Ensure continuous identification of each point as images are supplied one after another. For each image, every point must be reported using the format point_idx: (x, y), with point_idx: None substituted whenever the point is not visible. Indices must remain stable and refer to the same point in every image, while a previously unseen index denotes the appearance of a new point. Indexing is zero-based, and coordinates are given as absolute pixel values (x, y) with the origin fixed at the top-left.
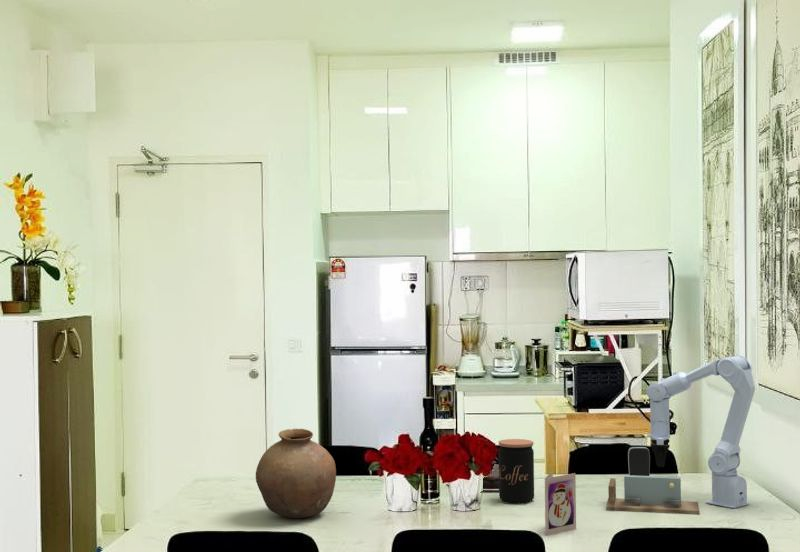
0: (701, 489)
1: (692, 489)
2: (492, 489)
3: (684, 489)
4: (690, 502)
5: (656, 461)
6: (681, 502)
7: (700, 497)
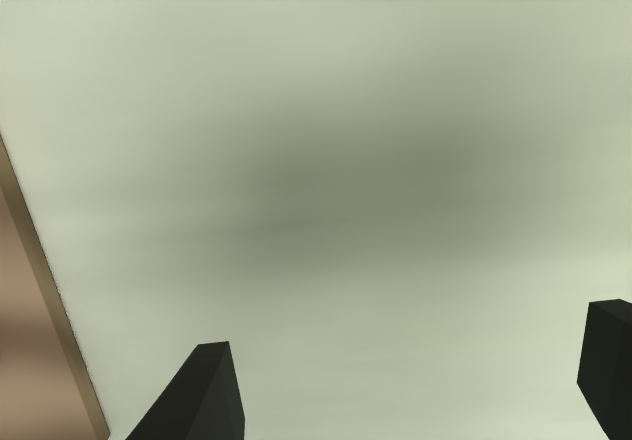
0: None
1: None
2: None
3: None
4: (53, 420)
5: (160, 404)
6: (22, 375)
7: (346, 425)
